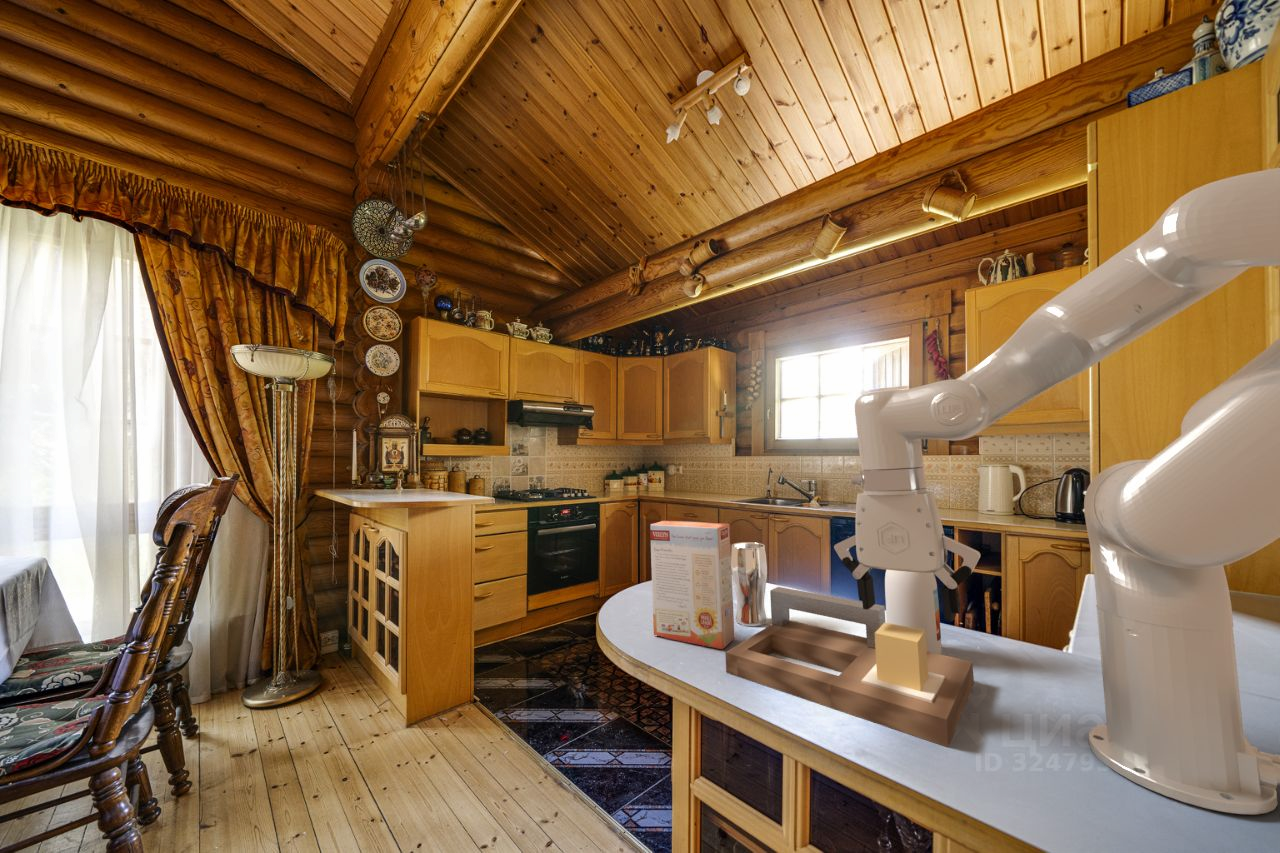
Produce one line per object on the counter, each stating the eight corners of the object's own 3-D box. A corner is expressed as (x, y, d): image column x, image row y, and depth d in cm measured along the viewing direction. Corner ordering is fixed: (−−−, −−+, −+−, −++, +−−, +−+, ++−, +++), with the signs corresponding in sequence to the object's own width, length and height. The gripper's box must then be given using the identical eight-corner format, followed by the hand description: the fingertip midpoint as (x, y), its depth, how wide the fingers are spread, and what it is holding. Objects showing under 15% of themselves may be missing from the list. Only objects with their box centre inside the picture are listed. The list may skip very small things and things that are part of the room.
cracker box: (735, 639, 85) (731, 522, 86) (722, 651, 80) (718, 527, 81) (668, 626, 93) (664, 518, 94) (652, 636, 88) (649, 523, 89)
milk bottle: (932, 665, 73) (924, 534, 74) (880, 651, 78) (873, 529, 80) (948, 651, 78) (940, 528, 79) (898, 638, 84) (891, 524, 85)
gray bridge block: (886, 643, 74) (884, 605, 74) (881, 649, 72) (878, 610, 72) (779, 619, 86) (777, 586, 86) (771, 623, 84) (770, 590, 84)
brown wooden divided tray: (974, 683, 67) (972, 659, 67) (948, 747, 53) (946, 716, 53) (782, 635, 86) (781, 616, 87) (726, 672, 72) (725, 650, 73)
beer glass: (770, 628, 90) (766, 548, 91) (733, 626, 91) (730, 548, 92) (768, 616, 97) (764, 542, 98) (733, 614, 98) (730, 541, 99)
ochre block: (928, 676, 62) (925, 630, 63) (920, 691, 59) (917, 642, 59) (887, 666, 66) (884, 622, 66) (877, 679, 62) (874, 633, 62)
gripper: (819, 485, 67) (831, 610, 65) (965, 482, 55) (984, 633, 54) (838, 482, 72) (850, 596, 71) (974, 478, 61) (992, 615, 59)
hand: (908, 612), depth 62 cm, fingers open, 9 cm apart
